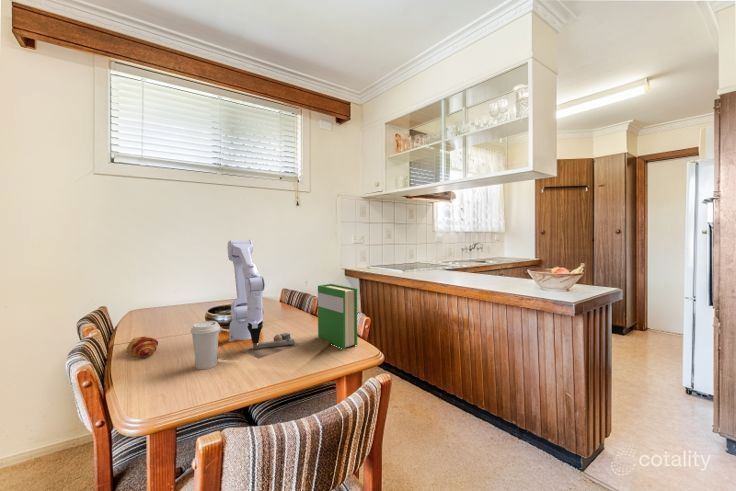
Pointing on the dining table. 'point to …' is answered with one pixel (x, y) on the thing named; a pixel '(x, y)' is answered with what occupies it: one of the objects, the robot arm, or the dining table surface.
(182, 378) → the dining table surface
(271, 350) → the base
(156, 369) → the dining table surface
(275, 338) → the tan wooden ball
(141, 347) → the croissant
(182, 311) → the dining table surface
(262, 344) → the lever
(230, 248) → the robot arm
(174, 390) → the dining table surface
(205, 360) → the coffee cup
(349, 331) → the hardback book
